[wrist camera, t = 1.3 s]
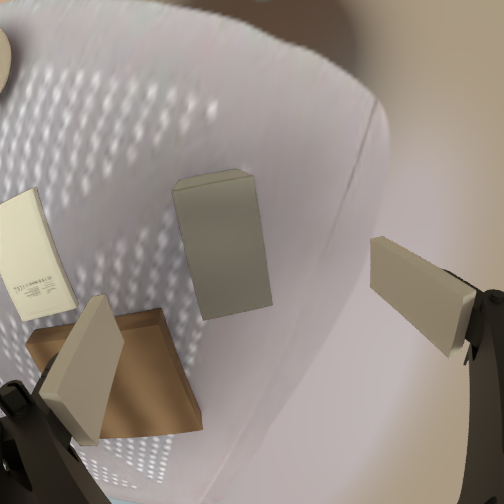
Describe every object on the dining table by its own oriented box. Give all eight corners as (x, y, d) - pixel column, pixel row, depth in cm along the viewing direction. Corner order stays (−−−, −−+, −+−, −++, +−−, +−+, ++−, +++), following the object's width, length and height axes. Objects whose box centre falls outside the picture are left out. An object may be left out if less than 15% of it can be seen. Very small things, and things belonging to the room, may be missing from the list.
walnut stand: (92, 422, 32) (88, 438, 29) (35, 329, 26) (24, 344, 23) (201, 412, 34) (202, 429, 31) (161, 308, 28) (158, 324, 25)
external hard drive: (39, 186, 22) (80, 301, 27) (-14, 212, 22) (27, 315, 26) (31, 188, 21) (75, 309, 25) (-22, 216, 20) (21, 322, 24)
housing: (199, 275, 28) (203, 320, 20) (179, 179, 25) (171, 192, 17) (252, 264, 28) (272, 305, 21) (236, 168, 25) (253, 176, 18)
